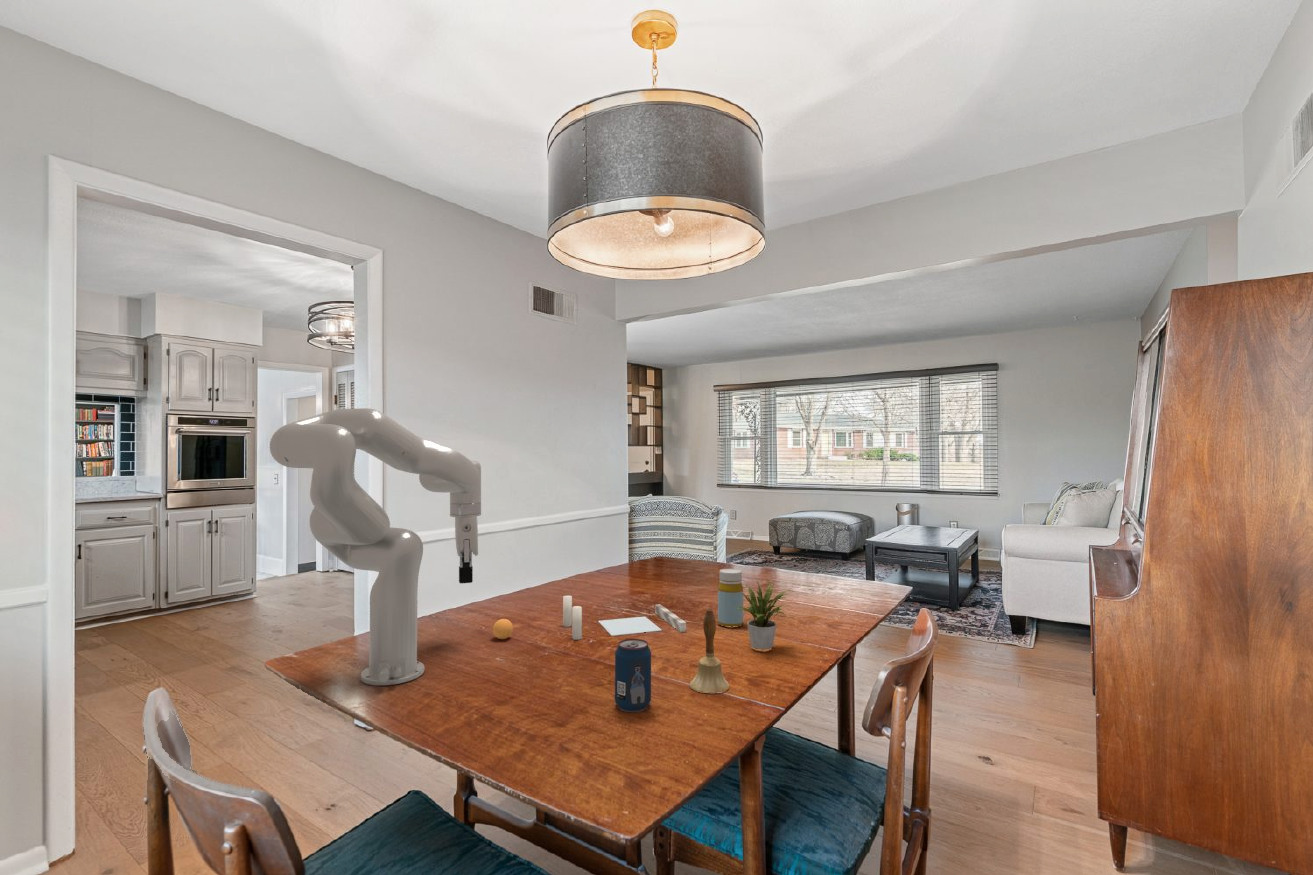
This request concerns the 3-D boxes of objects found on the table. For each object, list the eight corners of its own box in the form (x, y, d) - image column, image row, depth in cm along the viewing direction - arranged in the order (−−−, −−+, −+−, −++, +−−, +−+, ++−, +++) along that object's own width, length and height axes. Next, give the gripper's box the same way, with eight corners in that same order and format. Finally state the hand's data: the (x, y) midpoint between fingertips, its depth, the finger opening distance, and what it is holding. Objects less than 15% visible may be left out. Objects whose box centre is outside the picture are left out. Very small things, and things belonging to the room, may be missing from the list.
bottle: (742, 621, 176) (742, 568, 176) (743, 629, 169) (743, 573, 169) (717, 620, 176) (718, 568, 176) (717, 628, 169) (718, 573, 169)
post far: (572, 626, 170) (572, 597, 170) (563, 627, 169) (564, 597, 169) (570, 623, 172) (570, 595, 172) (562, 624, 172) (562, 595, 172)
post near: (582, 639, 159) (582, 607, 159) (573, 640, 158) (573, 608, 158) (580, 636, 161) (580, 605, 161) (571, 637, 160) (571, 606, 160)
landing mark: (661, 630, 167) (661, 630, 167) (611, 636, 162) (611, 635, 162) (644, 617, 180) (644, 616, 180) (598, 621, 175) (598, 620, 175)
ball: (513, 640, 158) (514, 620, 158) (493, 642, 156) (493, 622, 156) (511, 634, 162) (511, 615, 162) (491, 636, 161) (492, 617, 161)
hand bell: (731, 694, 124) (731, 615, 124) (690, 694, 124) (690, 614, 125) (727, 679, 133) (728, 604, 133) (688, 678, 133) (689, 603, 133)
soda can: (631, 695, 124) (631, 635, 124) (658, 705, 119) (658, 642, 119) (607, 706, 118) (607, 643, 118) (634, 717, 114) (634, 651, 114)
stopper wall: (686, 631, 166) (686, 622, 166) (680, 632, 165) (680, 623, 165) (660, 612, 185) (660, 604, 185) (655, 613, 184) (655, 604, 184)
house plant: (793, 662, 143) (793, 591, 143) (733, 658, 145) (733, 588, 146) (792, 643, 157) (792, 578, 157) (737, 639, 159) (737, 575, 160)
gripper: (483, 512, 151) (483, 588, 151) (478, 506, 165) (479, 574, 165) (450, 514, 148) (451, 590, 148) (449, 507, 162) (449, 577, 162)
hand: (465, 582), depth 156 cm, fingers closed
